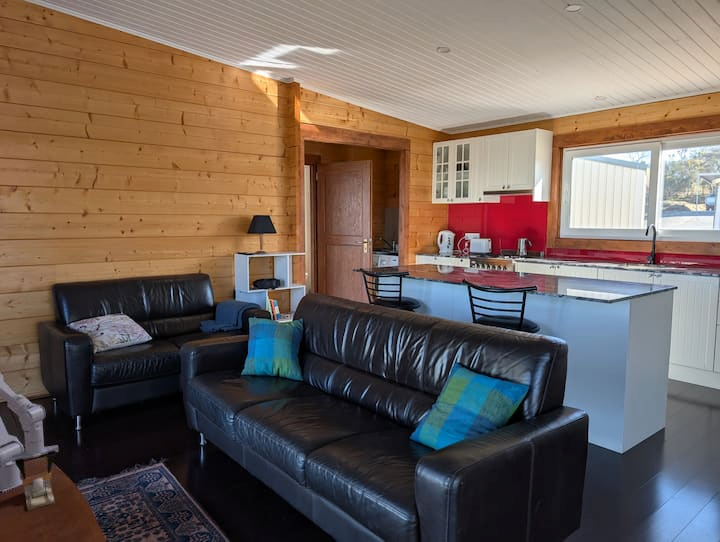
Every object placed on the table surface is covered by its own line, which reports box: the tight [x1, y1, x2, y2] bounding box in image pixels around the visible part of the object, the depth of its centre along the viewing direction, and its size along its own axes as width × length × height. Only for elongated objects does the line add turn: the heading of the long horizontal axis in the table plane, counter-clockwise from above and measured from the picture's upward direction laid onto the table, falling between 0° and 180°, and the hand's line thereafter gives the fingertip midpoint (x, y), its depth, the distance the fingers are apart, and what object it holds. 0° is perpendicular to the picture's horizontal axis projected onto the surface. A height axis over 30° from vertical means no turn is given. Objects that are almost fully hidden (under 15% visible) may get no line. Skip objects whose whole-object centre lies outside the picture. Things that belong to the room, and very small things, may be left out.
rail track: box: [23, 478, 56, 511], centre depth 188 cm, size 14×8×4 cm, turn 37°
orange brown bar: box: [21, 470, 52, 486], centre depth 191 cm, size 2×9×2 cm, turn 127°
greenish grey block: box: [32, 478, 46, 497], centre depth 188 cm, size 4×4×5 cm
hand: (36, 475), depth 191 cm, fingers open, 7 cm apart
